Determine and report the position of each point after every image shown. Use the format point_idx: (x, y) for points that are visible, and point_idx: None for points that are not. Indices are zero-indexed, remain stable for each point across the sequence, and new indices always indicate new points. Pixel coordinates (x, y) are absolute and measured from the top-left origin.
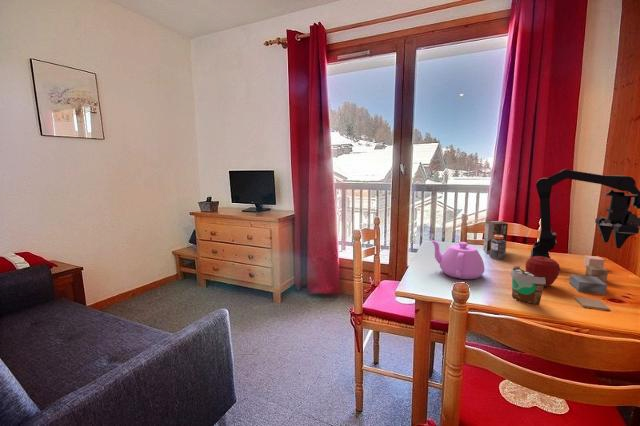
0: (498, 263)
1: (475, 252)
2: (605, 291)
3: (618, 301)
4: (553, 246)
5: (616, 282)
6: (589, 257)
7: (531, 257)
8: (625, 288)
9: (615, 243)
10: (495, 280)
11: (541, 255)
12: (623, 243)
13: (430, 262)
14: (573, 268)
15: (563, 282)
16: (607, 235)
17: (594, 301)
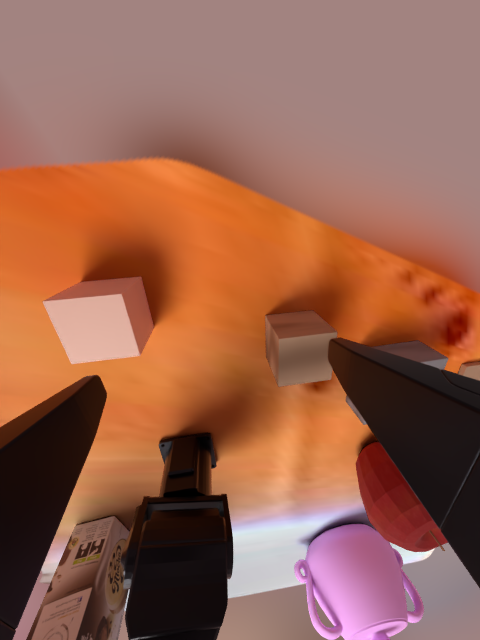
0: (231, 513)
1: (400, 612)
2: (426, 346)
3: (461, 324)
4: (225, 529)
5: (297, 275)
6: (110, 352)
7: (416, 551)
8: (357, 267)
9: (357, 403)
10: (361, 502)
11: (211, 492)
12: (399, 358)
13: (284, 575)
14: (173, 372)
15: (342, 411)
16: (45, 460)
17: (475, 378)
